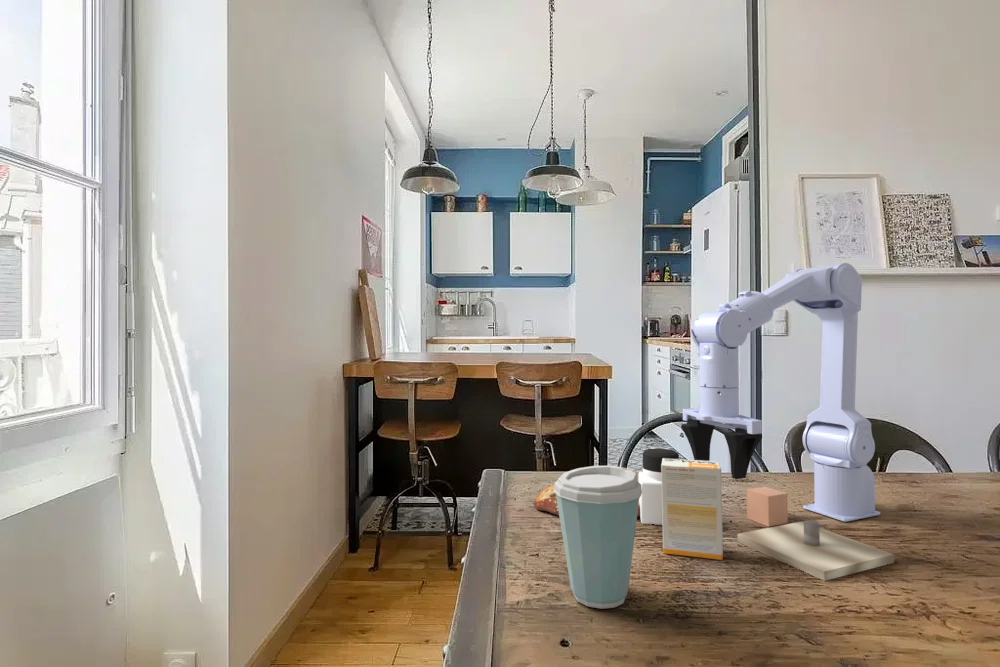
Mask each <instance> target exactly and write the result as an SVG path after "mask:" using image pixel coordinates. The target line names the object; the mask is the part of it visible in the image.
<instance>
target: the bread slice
mask: <svg viewBox="0 0 1000 667" xmlns="http://www.w3.org/2000/svg"><path fill="white" fill-rule="evenodd" d="M553 490H554V483H553V484H552V485H550V486H547V487H546V488H545V489H544V490H542V491H541V492H540V493H539V494H538V495H537V496H536V498H535V499H534V503H533V505H534V508H535V509H536V510H538V511H545V512H546V513H547V512H548V513H550V514H553V515H556V516H559V511H558V505H557V498H556V493H555V492H554V491H553ZM637 517H640V502H639V505H638V513H637Z"/></svg>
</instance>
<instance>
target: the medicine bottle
mask: <svg viewBox="0 0 1000 667" xmlns="http://www.w3.org/2000/svg"><path fill="white" fill-rule="evenodd" d="M663 458H668V459H680V454H679V453H678V452H677V451H675V450H674V449H672V448H668V447H667V448H666V447H650V448H647V449H645V450H643V451H642V471H639V472H638V473H637V479H638V482H639V483H640V484H641V489H642V494H641V496H640V498H639V502H640V516H639V519H640V522H641V524H643V525H652V524H654V525H655V526H656V525H657V526H663V525H662V474H661V464H662V459H663ZM654 525H653V526H654Z"/></svg>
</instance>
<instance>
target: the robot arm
mask: <svg viewBox="0 0 1000 667" xmlns="http://www.w3.org/2000/svg"><path fill="white" fill-rule="evenodd" d="M862 285H863V277H862V276H861V275H860V273H859V272H858V271H857V270H856V268H855V266H853V265H852V264H851V263H848V262H843V263H842V262H841V263H839V264H834V265H826V266H819V267H812V268H799V269H795V270H793V271H792V272H787V273H785V277H783V278H782V279H780V280H779V281H777V282H775V283H774V284H773V285H771V286H769V287H768V288H767V289H765V290H763V291H762V292H760V291H756V290H754V291H753V290H752V291H751V290H743V291H740V292H739V293H738V295H737V296H739V297H737V298H735V299H733V300H732V301H730V302H726V303H724V302H723V303H721V304H719V306H718V308H717V309H716V311H708V312H707V311H706V312H703V313H701V314H700V315H699V316H698V317H697V318H696V320H694V324H693V326H692V327H693V328H691V329H690V334H691V339H692V341H693V342H694V343H695V346H696V354H697V356H698V357H699V406H700V407H699V409H698V408H692V407H691V408H682V421H685V422H686V423H682V424H680V425H681V427H680V428H681V430H682V432H683V434H684V435H685V436H686V438H687V442H688V444H689V446H690V449H691V452H692V455H693V460H702V461H711V460H710V458H711V443H712V437H713V433H714V430H715V427H720V428H726V429H730V430H734V431H725V432H724V433H723V436H724V438H725V440H726V444H727V448H728V451H729V458H730V472H731V478H732V479H735V480H741V479H746V477H747V475H748V474H747V473H748V470H749V466H750V463H751V461H752V458H753V455H754V452H755V450H756V448H757V447H758V444H760V442H761V440H762V439H763V421H762V419H756V418H752V417H748V416H746V415H743V414H740V391H739V390H740V389H739V388H740V387H739V385H740V382H739V381H740V379H739V377H740V376H739V374H740V373H739V346H743V345H744V343H745V342H746V339H747V336H748V334H750V333H751V332H752V331H755V330H756V329H758V328H760V327H762V326H763V325H765V324H767V323H768V322H769V321H771V319H772V318H773V316H774V311H775V310H776V309H779V308H781V307H782V306H783V307H784V306H785V305H786V304H789V303H791V302H793V301H794V303H796V304H798V305H799V306H800V307H802V308H804V309H805V310H806V311H808V312H810V313H811V314H814V315H816V316H817V317H818V318H819V319H820V320H821V321H822V327H821V329H822V331H821V332H822V333H821V334H822V335H821V357H820V358H821V359H820V360H821V362H820V365H821V366H820V386H819V387H820V388H819V389H820V391H819V392H820V393H819V407H818V408H816V409H815V410H813V411H811V413H808V414H807V417H806V425H805V429H804V431H803V434H802V445H803V448H804V450H805V451H806V453H808V454H809V460H812V461H813V463H814V464H813V478H814V480H813V482H814V484H813V487H814V489H813V490H814V492H813V493H814V496H813V498H814V503H810V504H809V503H808V504H805V505H802V508H803V509H804V510H805V509H806V510H807V511H810V512H814V513H817V514H819V515H823V516H825V517H829V518H833V519H834V520H838V521H842V522H846V523H847V522H851V521H856V520H860V519H866V518H867V519H868V518H871V517H875V516H880V515H881V511H877V510H876V480H875V475H874V473H873V471H872V469H871V468H870V466H868V463H869V462H870V461H871V460H872V459H873V457H874V455H875V450H876V444H875V439H874V437H873V433H872V422H870V420H869V419H868V418H867V417H865V416H864V415H862V414H861V413H860V412H858V411H857V410H856V387H857V386H856V383H857V382H856V381H857V350H858V322H859V321H858V320H859V319H858V318H859V317H858V316H859V312H860V311H861V310H862V292H863V291H862V289H863V288H862Z"/></svg>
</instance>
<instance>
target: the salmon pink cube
mask: <svg viewBox="0 0 1000 667" xmlns="http://www.w3.org/2000/svg"><path fill="white" fill-rule="evenodd" d="M788 517H789V516H788V493H787V492H784V491H781V490H777V489H775V488H772V487H771V488H770V487H768V486H761V487H755V488H747V489H746V519H748V520H750V521H754V522H756V523H758V524H761V525H763V526H766V527H767V528H771V527H776V526H781V525H786V524H789V523H788V520H789V518H788Z"/></svg>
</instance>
